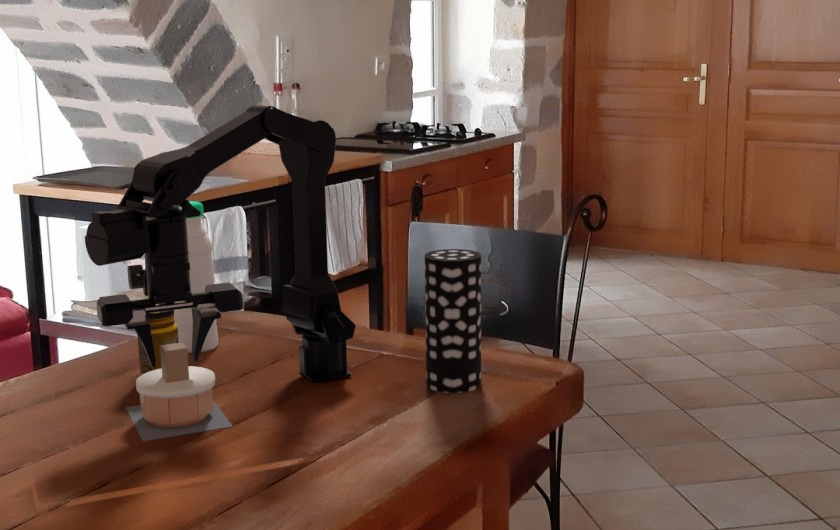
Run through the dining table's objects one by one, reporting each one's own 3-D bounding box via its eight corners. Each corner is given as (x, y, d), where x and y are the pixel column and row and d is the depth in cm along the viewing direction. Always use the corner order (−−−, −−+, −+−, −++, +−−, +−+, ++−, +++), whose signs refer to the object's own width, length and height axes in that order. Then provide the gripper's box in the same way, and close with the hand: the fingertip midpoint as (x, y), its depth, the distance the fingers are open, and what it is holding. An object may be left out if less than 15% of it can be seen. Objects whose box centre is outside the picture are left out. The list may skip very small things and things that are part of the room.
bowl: (203, 401, 155) (201, 370, 154) (218, 422, 146) (216, 390, 145) (138, 411, 151) (135, 379, 150) (149, 433, 143) (147, 400, 142)
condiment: (190, 385, 163) (185, 309, 161) (136, 396, 159) (130, 318, 156) (173, 373, 169) (168, 299, 167) (120, 383, 165) (114, 308, 162)
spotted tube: (452, 397, 157) (451, 263, 152) (414, 383, 163) (412, 254, 158) (492, 384, 162) (492, 254, 157) (454, 371, 168) (454, 246, 164)
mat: (209, 398, 157) (209, 394, 157) (233, 430, 145) (232, 426, 145) (125, 411, 153) (125, 407, 153) (142, 445, 140) (142, 441, 140)
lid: (203, 368, 155) (201, 331, 153) (224, 390, 145) (222, 351, 144) (129, 380, 150) (126, 342, 149) (145, 403, 141) (142, 363, 139)
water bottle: (168, 348, 182) (158, 202, 177) (204, 339, 187) (195, 197, 182) (190, 356, 177) (180, 207, 172) (226, 347, 182) (218, 202, 176)
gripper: (221, 236, 154) (227, 340, 158) (86, 248, 147) (96, 357, 151) (240, 250, 144) (246, 361, 148) (98, 264, 137) (107, 380, 141)
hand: (174, 364), depth 147 cm, fingers open, 5 cm apart
